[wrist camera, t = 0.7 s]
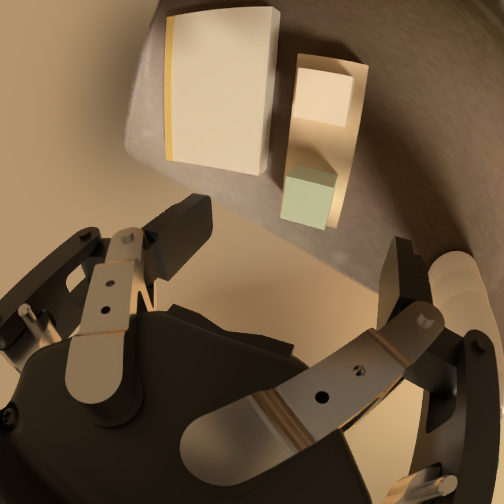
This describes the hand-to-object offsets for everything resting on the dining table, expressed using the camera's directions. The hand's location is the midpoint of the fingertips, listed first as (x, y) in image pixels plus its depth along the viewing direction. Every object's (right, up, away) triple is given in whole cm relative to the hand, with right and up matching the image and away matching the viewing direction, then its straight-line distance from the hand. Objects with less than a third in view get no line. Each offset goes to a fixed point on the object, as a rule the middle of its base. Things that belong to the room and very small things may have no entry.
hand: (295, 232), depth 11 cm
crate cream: (+5, +12, +8) cm, 16 cm away
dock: (-5, +17, +15) cm, 23 cm away
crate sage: (+4, +5, +14) cm, 15 cm away
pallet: (+6, +11, +14) cm, 19 cm away
